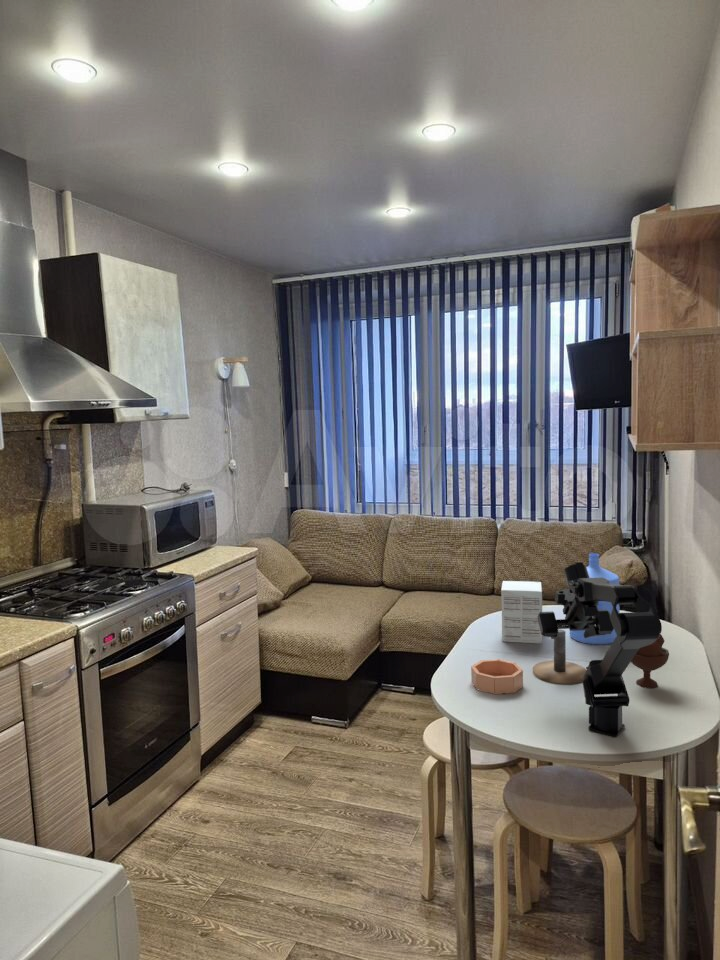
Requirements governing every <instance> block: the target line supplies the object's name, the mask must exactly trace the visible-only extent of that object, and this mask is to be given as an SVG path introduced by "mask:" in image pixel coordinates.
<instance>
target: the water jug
mask: <svg viewBox="0 0 720 960" xmlns="http://www.w3.org/2000/svg"><path fill="white" fill-rule="evenodd" d="M588 556H589V558H588V561H589V562H588V566H586V568H587V571H588V575H589V578H602V577H603V578H605V579H607V580H608V581H609V584H616V585H621V584H620V576H618V575H617V574H616V573H613V572H611V571H610V570H607V569H605V568H603V567H601V566H600V559H599V557H600V554H599V553H589V554H588ZM598 603H599V604H598V606H597V607H598V610H607V611H609V612H610V615H611V612H612V608H613V606H612V604H611V602H607V601H598ZM616 609H617V611H618V613H621V611H620V609H621V607H620V604H619V605H617V606H616ZM584 632H585V630H580V631H570V630H569V636H570V638H572V639H573V640H575V641H577V642H581V643H584V644H587V645H596V646H597V645H600V646H602V645H609V644H610V645H612V643H613V641H614V640H615V638H616V636H617V635H616V632H615V630H613V631H612V633H611V634H606V635H600V636H595V637H590V638H584Z"/></svg>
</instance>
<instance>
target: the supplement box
mask: <svg viewBox="0 0 720 960" xmlns="http://www.w3.org/2000/svg"><path fill="white" fill-rule="evenodd" d="M500 590H501V591H500V592H501V596H500V597H501V641H502V642H506V643H507V642H509V643H510V642H511V643H522V644H523V643H525V644H538V645H539V644H543V635H541V631H540V627H539V622H538V618H537V617H538V614H539V613H540V612H543V588H542V582H541V581H522V580H519V581H518V580H517V581H516V580H502V583H501V589H500Z"/></svg>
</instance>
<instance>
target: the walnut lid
mask: <svg viewBox="0 0 720 960" xmlns="http://www.w3.org/2000/svg"><path fill="white" fill-rule="evenodd" d="M566 649H567V648H566V630H565V629H558V634H557V637H556V638H554V639H553V660H545V661H544V660H543V661H540V662H538V663H535V664H534V665H533V666H532V675H534V677H535V678H538V679H539V680H541V681H544V682H547V683H551V684H558V685H573V684H579V683H582V681H583V676H584V675H585V672H586V671H587V669H586V667H584V666H582V665H580V664H577V663H574V662H570V661H567V659H566V657H567V655H566V653H567V652H566Z"/></svg>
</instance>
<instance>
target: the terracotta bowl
mask: <svg viewBox="0 0 720 960" xmlns="http://www.w3.org/2000/svg"><path fill="white" fill-rule="evenodd" d="M470 667H471V669H470V670H471V671H470V672H471V673H470V675H471V683H472V685H473V684H474V685H473V686H474V688H475V687H476V688H475V690H477V689H479V690H478V691H480V690H482V691H481V692H484V691H486V692H485V693H488V692H490V693H489V694H492V693H493V694H492V695H503V694H502V693H506V694H515V693H517V692H518V691H519V690H520V689H522V688H523V687H524V670H523V669H522V668H521V667H520V666H519V664H518V663H517V662H512V661H508V660H504V659H501V658H500V659H485V660H479V661H477V662H476V663H474V664H473V665H471V666H470Z"/></svg>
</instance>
